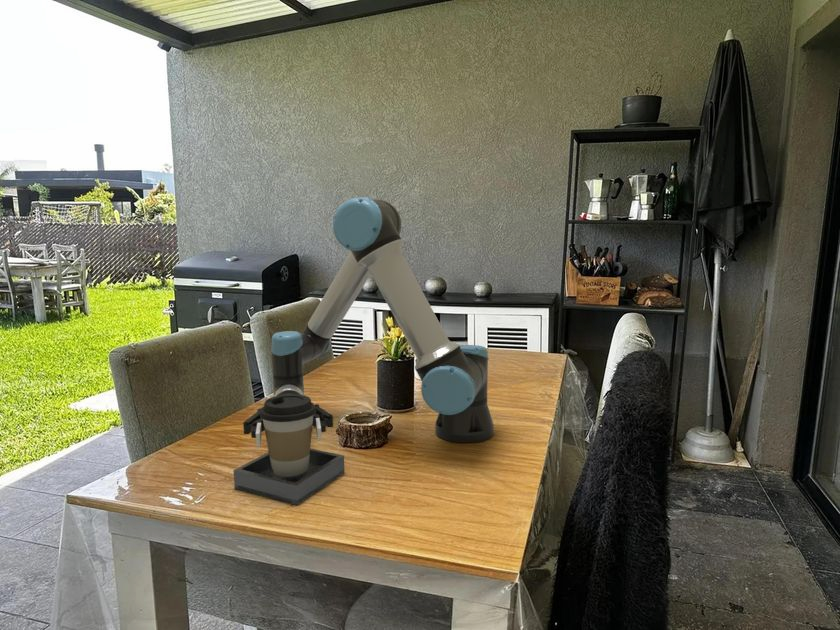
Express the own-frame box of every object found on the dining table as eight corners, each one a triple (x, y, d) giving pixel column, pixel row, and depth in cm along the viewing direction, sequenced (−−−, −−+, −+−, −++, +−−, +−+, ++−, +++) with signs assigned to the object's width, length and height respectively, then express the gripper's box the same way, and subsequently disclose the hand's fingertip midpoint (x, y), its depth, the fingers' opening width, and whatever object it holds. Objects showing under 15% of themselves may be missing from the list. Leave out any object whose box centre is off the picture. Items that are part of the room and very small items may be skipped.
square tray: (344, 473, 120) (344, 455, 120) (296, 505, 106) (296, 485, 106) (286, 460, 127) (285, 443, 127) (234, 488, 113) (233, 470, 113)
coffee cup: (271, 458, 122) (268, 392, 120) (323, 458, 122) (320, 392, 120) (255, 481, 111) (251, 409, 109) (311, 482, 111) (308, 409, 108)
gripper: (339, 415, 136) (348, 449, 115) (237, 424, 130) (228, 461, 109) (338, 386, 135) (347, 414, 114) (235, 393, 129) (225, 424, 108)
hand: (289, 437), depth 111 cm, fingers closed on coffee cup, 11 cm apart
